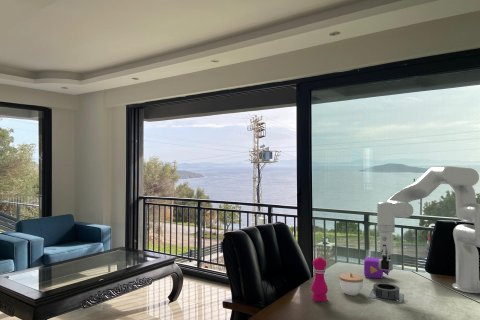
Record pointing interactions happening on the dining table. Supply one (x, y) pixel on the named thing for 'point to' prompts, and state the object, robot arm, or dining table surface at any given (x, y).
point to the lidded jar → (351, 283)
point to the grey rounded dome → (389, 265)
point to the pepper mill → (319, 280)
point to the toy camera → (373, 268)
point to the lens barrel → (386, 292)
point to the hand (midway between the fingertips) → (385, 267)
